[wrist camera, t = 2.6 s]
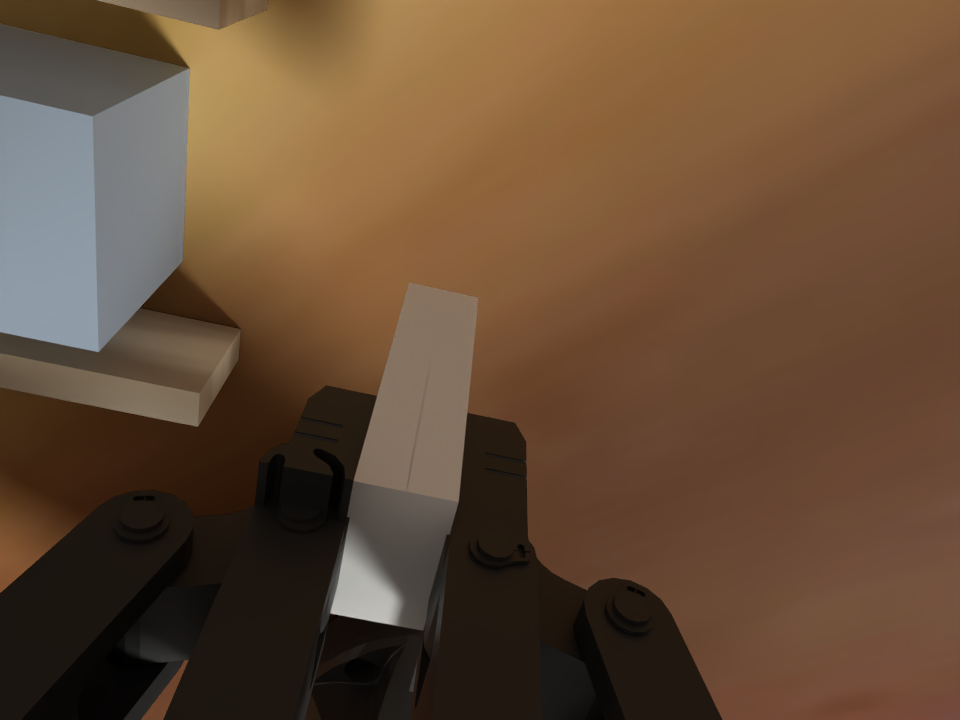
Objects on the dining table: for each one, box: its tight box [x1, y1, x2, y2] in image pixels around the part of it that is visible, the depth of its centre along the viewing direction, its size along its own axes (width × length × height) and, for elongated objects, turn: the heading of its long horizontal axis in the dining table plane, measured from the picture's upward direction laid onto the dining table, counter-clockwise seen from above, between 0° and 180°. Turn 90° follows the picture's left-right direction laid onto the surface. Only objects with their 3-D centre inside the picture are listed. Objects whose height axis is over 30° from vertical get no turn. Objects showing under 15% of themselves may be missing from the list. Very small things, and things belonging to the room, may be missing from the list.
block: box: [0, 24, 190, 352], centre depth 21 cm, size 6×6×6 cm
